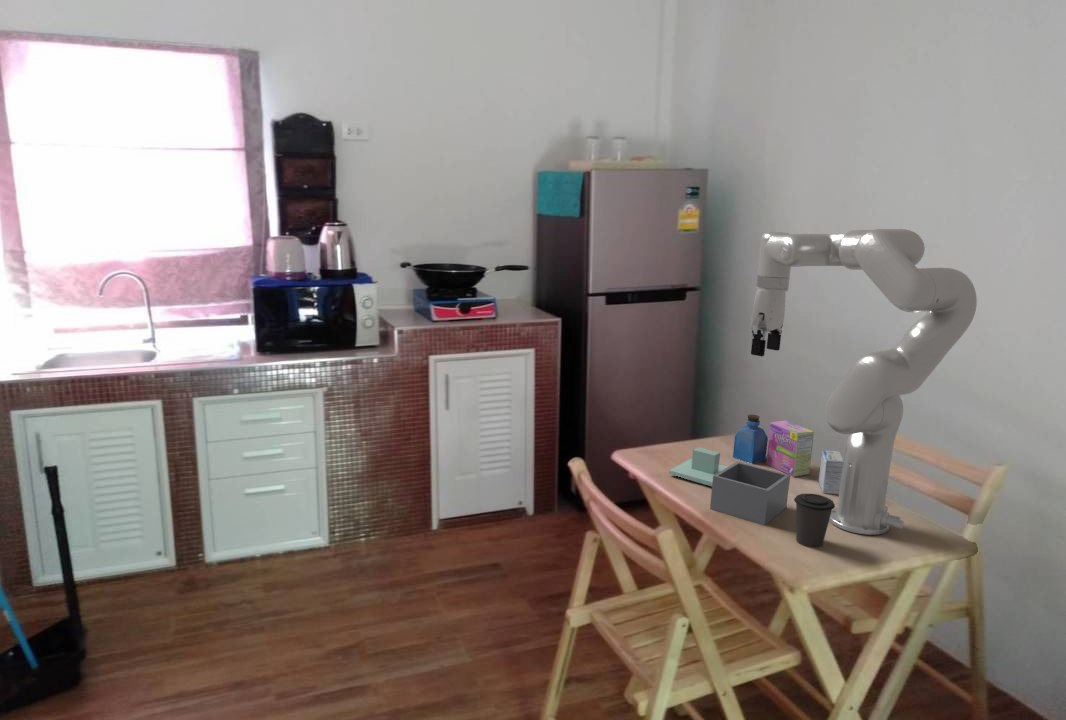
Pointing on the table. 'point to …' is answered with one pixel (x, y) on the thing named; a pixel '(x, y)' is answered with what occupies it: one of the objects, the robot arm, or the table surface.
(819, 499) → the coffee cup
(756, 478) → the parts tub
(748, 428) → the perfume bottle
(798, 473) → the box
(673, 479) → the table surface
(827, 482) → the medicine box
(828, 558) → the table surface
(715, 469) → the lid
